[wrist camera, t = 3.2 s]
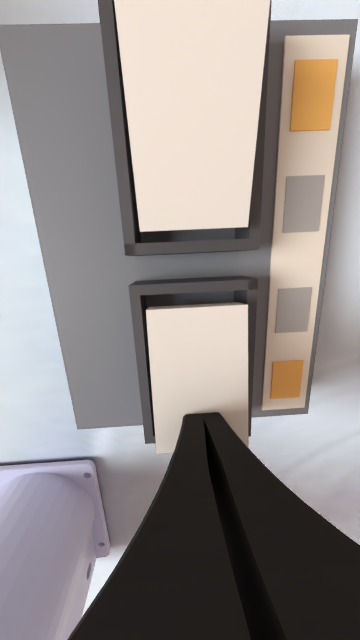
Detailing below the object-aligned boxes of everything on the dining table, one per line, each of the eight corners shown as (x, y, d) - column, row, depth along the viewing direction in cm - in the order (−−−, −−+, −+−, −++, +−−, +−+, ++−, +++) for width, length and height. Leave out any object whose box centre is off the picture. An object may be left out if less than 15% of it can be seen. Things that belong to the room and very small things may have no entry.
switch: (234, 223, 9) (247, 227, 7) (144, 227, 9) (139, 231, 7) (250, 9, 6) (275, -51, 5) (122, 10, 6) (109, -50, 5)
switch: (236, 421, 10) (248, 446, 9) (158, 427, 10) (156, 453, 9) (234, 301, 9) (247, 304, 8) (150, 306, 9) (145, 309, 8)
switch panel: (285, 388, 15) (330, 439, 11) (92, 401, 15) (61, 459, 10) (314, 74, 11) (412, -51, 6) (36, 80, 10) (-59, -49, 6)
